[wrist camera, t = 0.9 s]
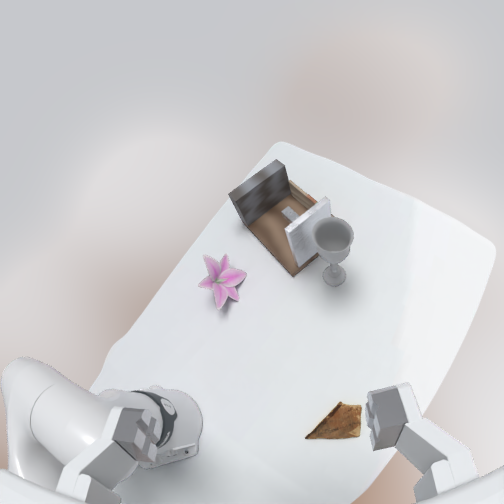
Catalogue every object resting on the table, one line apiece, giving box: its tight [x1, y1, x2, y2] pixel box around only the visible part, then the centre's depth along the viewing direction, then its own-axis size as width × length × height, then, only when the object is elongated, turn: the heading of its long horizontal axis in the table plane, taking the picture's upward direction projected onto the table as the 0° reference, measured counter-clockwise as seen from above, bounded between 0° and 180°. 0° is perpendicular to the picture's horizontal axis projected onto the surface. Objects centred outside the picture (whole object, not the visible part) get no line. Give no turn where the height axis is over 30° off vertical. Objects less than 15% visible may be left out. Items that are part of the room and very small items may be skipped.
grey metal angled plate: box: [281, 196, 331, 267], centre depth 64 cm, size 11×9×15 cm
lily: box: [198, 254, 247, 310], centre depth 69 cm, size 12×12×10 cm
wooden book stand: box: [228, 159, 334, 276], centre depth 70 cm, size 14×20×12 cm
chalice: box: [312, 217, 354, 286], centre depth 59 cm, size 7×7×18 cm
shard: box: [305, 402, 362, 439], centre depth 53 cm, size 11×8×2 cm
